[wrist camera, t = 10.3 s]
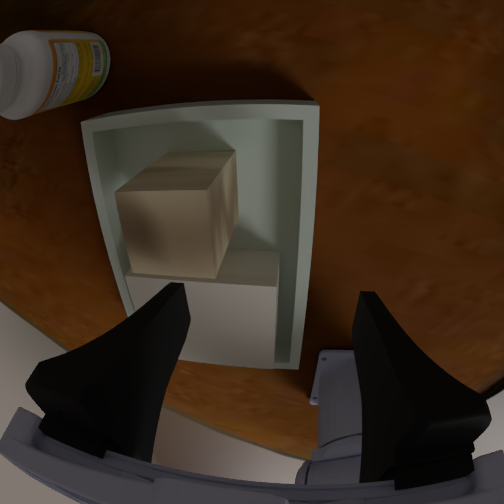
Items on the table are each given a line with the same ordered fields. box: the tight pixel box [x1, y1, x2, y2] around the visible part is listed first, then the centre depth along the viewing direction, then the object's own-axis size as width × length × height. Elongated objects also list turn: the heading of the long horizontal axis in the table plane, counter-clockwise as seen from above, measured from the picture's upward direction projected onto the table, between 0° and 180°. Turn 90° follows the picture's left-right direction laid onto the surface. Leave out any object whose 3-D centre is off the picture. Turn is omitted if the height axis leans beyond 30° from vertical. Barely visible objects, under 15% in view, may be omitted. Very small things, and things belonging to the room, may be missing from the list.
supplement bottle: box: [0, 30, 110, 120], centre depth 13 cm, size 5×5×10 cm
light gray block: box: [125, 249, 280, 369], centre depth 23 cm, size 8×10×4 cm
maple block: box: [114, 150, 239, 279], centre depth 17 cm, size 4×4×7 cm
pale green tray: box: [81, 99, 319, 370], centre depth 22 cm, size 20×14×4 cm
